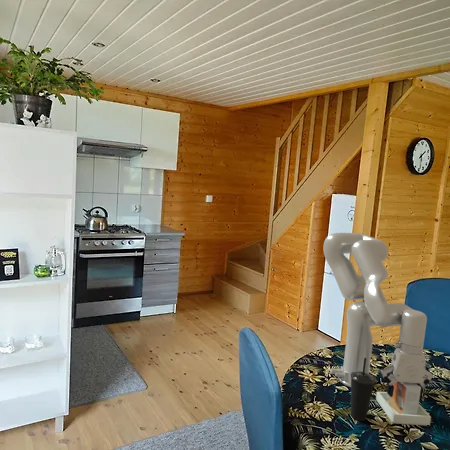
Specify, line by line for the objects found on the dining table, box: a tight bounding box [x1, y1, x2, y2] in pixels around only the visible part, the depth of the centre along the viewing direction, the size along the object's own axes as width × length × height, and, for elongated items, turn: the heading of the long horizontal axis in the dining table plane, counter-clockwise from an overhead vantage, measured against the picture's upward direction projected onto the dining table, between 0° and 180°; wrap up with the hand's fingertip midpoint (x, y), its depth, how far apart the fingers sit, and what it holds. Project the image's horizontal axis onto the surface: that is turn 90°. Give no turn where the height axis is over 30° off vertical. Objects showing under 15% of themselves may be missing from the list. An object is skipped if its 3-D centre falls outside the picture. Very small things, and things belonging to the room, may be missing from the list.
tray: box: [375, 391, 432, 427], centre depth 135 cm, size 12×14×3 cm
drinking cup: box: [350, 358, 376, 422], centre depth 129 cm, size 8×8×20 cm
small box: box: [389, 381, 421, 415], centre depth 135 cm, size 8×6×10 cm
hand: (403, 395), depth 135 cm, fingers open, 9 cm apart
